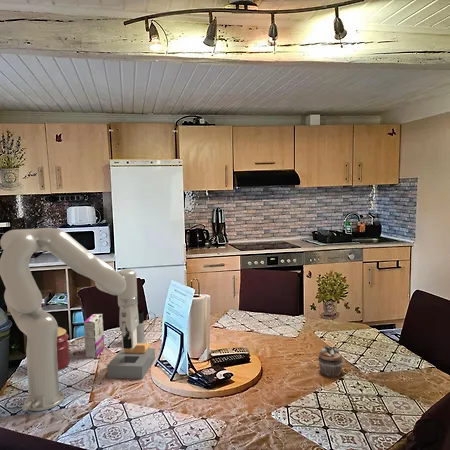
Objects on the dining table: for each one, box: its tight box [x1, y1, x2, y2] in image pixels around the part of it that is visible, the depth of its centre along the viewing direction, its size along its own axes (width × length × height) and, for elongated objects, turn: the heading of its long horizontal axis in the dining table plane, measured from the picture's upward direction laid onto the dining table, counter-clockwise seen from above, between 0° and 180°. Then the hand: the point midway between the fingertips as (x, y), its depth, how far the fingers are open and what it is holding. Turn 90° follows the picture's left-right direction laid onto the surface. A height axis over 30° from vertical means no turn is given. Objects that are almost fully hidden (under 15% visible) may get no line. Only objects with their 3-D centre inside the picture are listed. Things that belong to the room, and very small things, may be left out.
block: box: [121, 328, 137, 351], centre depth 160 cm, size 5×5×10 cm
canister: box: [57, 326, 71, 371], centre depth 167 cm, size 13×13×18 cm
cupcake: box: [318, 344, 344, 377], centre depth 158 cm, size 10×10×10 cm
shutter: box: [124, 343, 151, 353], centre depth 171 cm, size 8×9×3 cm
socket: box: [106, 347, 156, 380], centre depth 164 cm, size 18×14×5 cm
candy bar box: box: [83, 313, 105, 359], centre depth 180 cm, size 11×5×16 cm, turn 179°
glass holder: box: [136, 309, 157, 344], centre depth 193 cm, size 9×14×15 cm, turn 115°
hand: (129, 345), depth 161 cm, fingers closed on block, 4 cm apart
